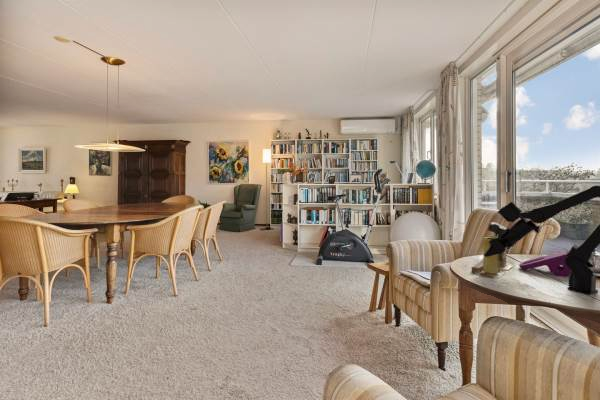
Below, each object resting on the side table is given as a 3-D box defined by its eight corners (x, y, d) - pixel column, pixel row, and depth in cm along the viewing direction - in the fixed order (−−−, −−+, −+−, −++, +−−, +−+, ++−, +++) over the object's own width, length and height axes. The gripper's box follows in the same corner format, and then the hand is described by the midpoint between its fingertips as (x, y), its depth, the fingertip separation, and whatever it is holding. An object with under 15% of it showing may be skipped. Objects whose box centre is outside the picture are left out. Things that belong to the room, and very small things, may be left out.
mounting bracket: (527, 285, 139) (577, 274, 128) (517, 267, 141) (566, 254, 130) (529, 280, 146) (577, 268, 135) (520, 262, 148) (566, 249, 137)
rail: (513, 266, 147) (513, 246, 146) (497, 279, 130) (497, 256, 129) (487, 262, 155) (487, 243, 154) (469, 274, 138) (469, 252, 137)
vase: (499, 274, 132) (499, 240, 132) (482, 272, 136) (482, 239, 135) (499, 270, 138) (499, 237, 137) (482, 269, 141) (482, 236, 140)
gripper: (507, 214, 139) (479, 236, 147) (494, 218, 126) (464, 243, 134) (529, 233, 134) (499, 256, 142) (518, 241, 121) (485, 265, 129)
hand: (487, 254), depth 137 cm, fingers closed on vase, 5 cm apart
